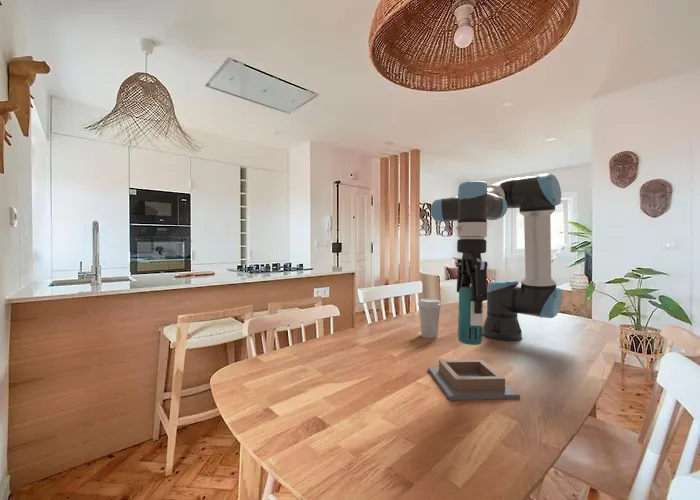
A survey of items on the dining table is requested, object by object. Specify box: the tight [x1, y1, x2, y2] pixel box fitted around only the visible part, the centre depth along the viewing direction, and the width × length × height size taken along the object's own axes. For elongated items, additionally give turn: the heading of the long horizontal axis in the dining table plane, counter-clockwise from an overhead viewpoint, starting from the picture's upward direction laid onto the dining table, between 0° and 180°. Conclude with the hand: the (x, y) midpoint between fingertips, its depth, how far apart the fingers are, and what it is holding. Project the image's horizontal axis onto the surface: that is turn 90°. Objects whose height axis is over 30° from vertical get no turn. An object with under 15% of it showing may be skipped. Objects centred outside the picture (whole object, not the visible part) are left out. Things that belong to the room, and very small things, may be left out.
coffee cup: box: [417, 298, 442, 339], centre depth 130 cm, size 10×10×15 cm
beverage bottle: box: [457, 275, 484, 346], centre depth 86 cm, size 6×7×20 cm
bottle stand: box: [427, 359, 521, 401], centre depth 87 cm, size 18×18×4 cm
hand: (470, 321), depth 87 cm, fingers closed on beverage bottle, 6 cm apart
